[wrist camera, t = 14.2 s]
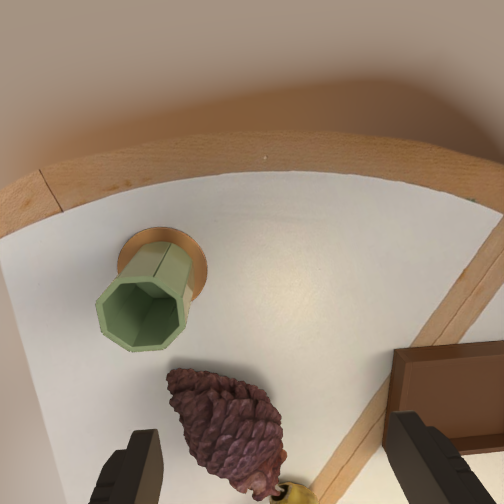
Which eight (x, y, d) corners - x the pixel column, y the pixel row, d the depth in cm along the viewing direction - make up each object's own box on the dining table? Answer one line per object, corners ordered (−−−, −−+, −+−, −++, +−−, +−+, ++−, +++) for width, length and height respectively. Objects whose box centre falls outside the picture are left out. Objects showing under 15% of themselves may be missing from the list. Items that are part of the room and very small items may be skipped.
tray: (544, 337, 40) (565, 349, 38) (516, 431, 45) (532, 448, 43) (394, 349, 39) (405, 362, 37) (381, 445, 44) (391, 463, 42)
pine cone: (141, 396, 38) (133, 417, 29) (200, 333, 42) (211, 333, 32) (247, 499, 38) (273, 553, 29) (297, 428, 42) (335, 456, 32)
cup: (191, 239, 32) (179, 274, 23) (197, 297, 34) (188, 348, 26) (126, 242, 32) (89, 279, 23) (135, 301, 34) (105, 354, 25)
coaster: (203, 224, 32) (203, 226, 32) (210, 304, 35) (210, 307, 35) (111, 229, 32) (109, 230, 31) (126, 310, 34) (124, 313, 34)
